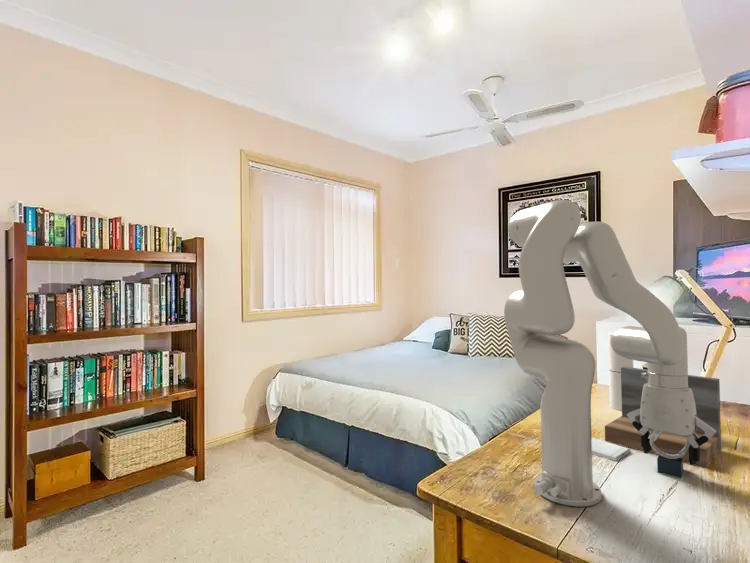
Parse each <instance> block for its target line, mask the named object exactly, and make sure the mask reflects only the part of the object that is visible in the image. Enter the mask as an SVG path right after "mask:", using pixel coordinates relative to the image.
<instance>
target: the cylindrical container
mask: <svg viewBox="0 0 750 563" xmlns="http://www.w3.org/2000/svg"><path fill="white" fill-rule="evenodd" d="M613 333H614V332H608V333H607V345H608V346H607V348H608V349H607V350H608V381H609V383H608V384H609V386H608V387H609V388H608V389H609V408H611V409H613V410H616V411H621V412H622V393H621V367H631V368H634V360H631V359H627V358H624V357H621V356H619V355H618V354H616V353H615V352H614V351H613V349H612V347H611V343H610V340H611V336H612V335H613Z"/></svg>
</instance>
